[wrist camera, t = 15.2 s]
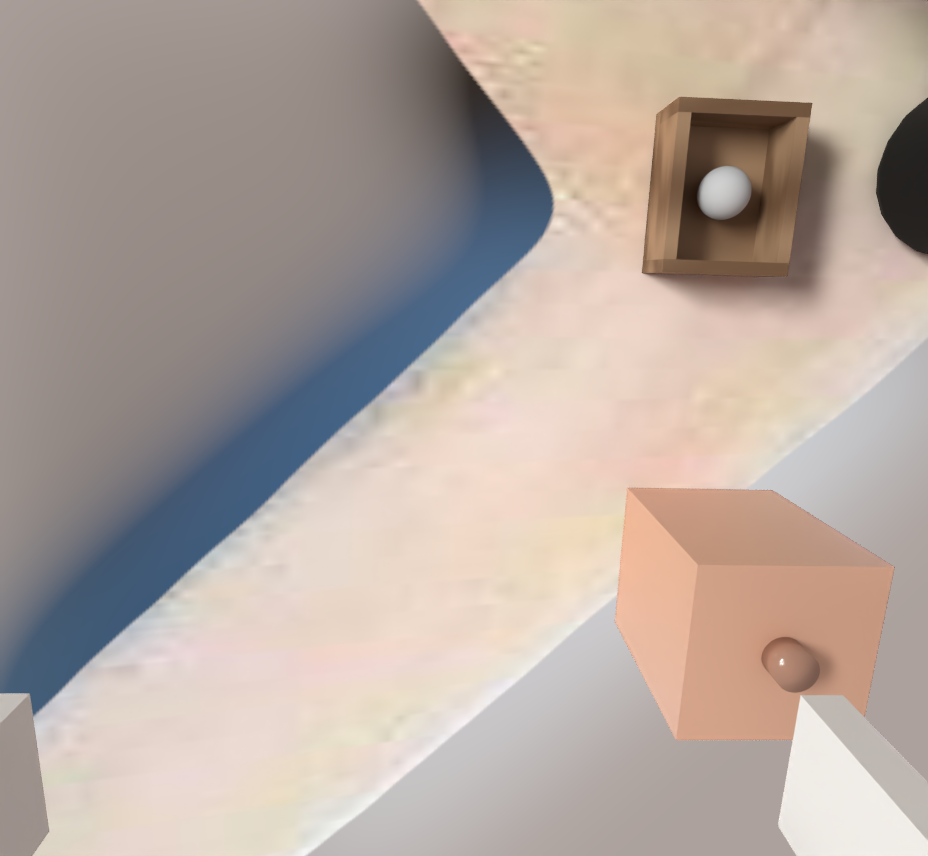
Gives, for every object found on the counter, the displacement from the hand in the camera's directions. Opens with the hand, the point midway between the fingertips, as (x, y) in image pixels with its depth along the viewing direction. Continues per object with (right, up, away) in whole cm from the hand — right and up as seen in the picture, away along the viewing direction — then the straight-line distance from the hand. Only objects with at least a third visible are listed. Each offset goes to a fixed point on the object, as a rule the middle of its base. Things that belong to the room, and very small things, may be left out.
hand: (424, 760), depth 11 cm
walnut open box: (+17, +21, +31) cm, 42 cm away
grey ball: (+17, +21, +29) cm, 40 cm away
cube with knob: (+18, -4, +37) cm, 42 cm away
